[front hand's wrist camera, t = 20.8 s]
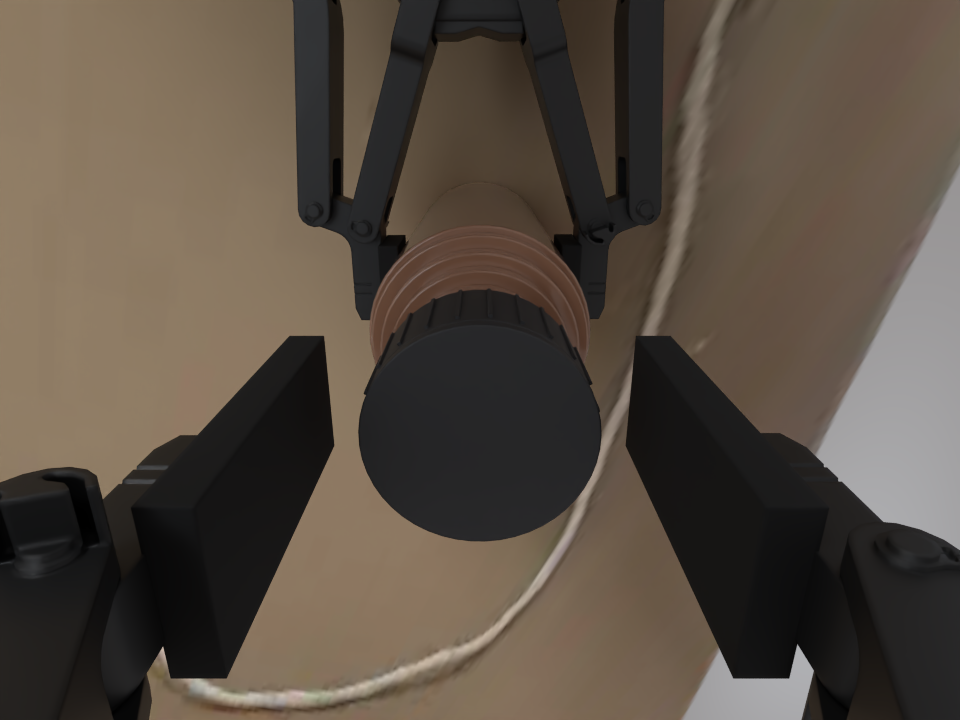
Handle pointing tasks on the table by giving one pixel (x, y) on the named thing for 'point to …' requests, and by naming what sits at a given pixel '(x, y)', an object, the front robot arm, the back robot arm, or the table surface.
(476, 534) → the cap
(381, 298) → the bottle
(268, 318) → the table surface
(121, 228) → the table surface
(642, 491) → the table surface
